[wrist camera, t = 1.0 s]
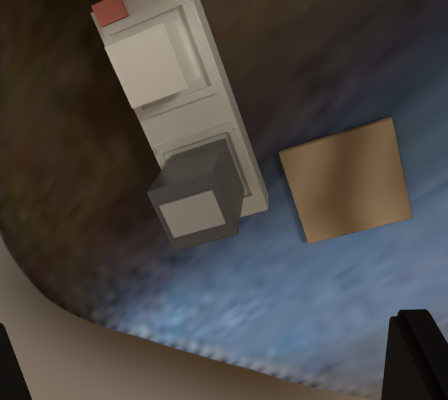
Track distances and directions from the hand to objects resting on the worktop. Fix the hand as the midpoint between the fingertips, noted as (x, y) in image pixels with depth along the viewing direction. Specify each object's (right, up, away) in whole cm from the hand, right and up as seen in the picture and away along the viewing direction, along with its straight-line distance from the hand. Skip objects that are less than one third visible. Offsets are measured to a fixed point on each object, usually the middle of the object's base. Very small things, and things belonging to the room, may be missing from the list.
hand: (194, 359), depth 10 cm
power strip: (-2, +11, +23) cm, 26 cm away
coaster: (+11, +5, +25) cm, 28 cm away
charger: (-1, +6, +22) cm, 23 cm away
